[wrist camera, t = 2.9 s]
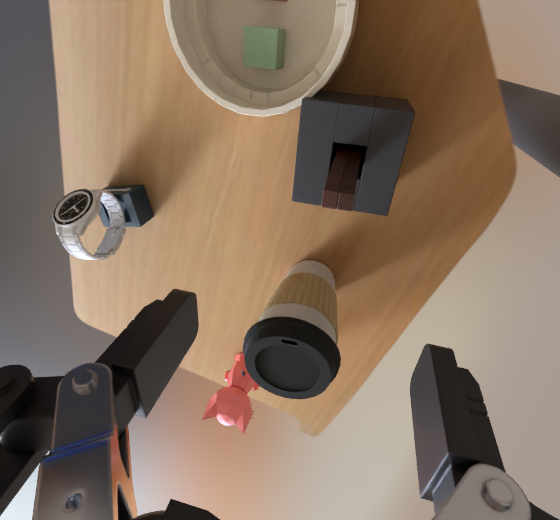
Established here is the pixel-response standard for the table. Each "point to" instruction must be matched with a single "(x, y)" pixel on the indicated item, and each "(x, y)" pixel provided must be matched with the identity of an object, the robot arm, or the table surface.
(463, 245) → the table surface
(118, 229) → the watch
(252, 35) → the sage block
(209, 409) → the cat figurine
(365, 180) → the stand
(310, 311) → the coffee cup
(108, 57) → the table surface
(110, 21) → the table surface
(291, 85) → the bowl
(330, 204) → the chopsticks
